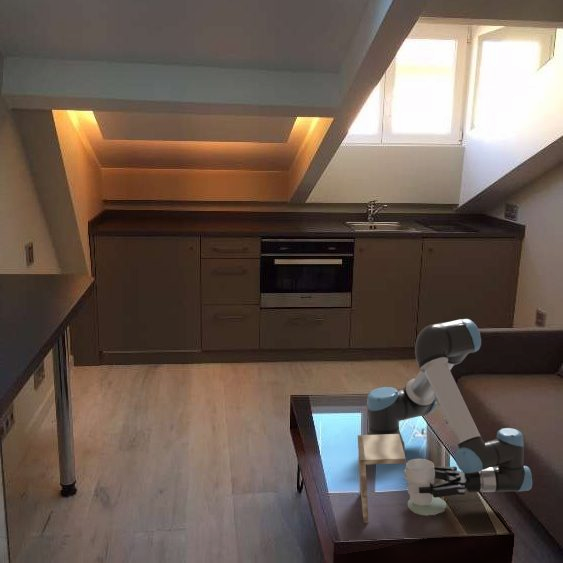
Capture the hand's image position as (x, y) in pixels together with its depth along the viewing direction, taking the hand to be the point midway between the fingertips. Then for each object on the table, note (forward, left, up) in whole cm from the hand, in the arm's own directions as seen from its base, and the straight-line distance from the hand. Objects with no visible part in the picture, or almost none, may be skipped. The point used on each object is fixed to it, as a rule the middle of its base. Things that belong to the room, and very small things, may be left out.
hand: (405, 481), depth 196 cm
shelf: (+4, -6, -8) cm, 11 cm away
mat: (-4, +5, -9) cm, 11 cm away
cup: (-3, +4, -7) cm, 8 cm away
